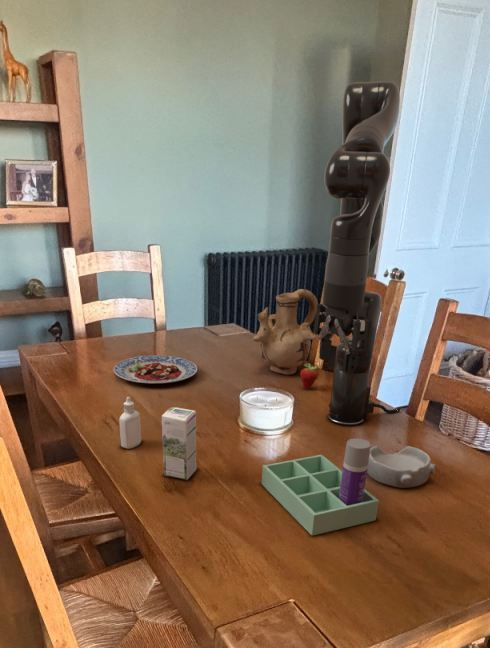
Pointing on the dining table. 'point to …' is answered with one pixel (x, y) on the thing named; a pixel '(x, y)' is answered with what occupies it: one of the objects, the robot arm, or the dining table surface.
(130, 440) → the eye dropper bottle
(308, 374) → the fruit
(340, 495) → the container
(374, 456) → the dish
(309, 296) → the ceramic vessel
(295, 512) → the rack
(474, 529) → the dining table surface
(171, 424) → the syrup box
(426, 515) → the dining table surface
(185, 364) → the ceramic plate
